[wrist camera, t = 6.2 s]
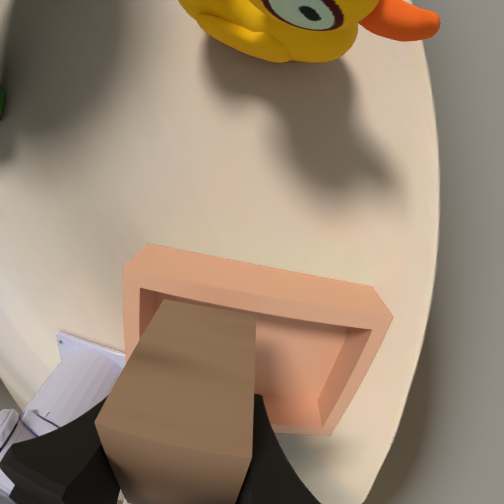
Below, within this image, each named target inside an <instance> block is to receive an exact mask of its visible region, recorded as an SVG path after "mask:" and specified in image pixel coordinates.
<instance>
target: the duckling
mask: <svg viewBox="0 0 504 504" xmlns="http://www.w3.org/2000/svg"><path fill="white" fill-rule="evenodd" d="M178 1H179V2H180V4H181V5H182V7H183V8H184V9H185V11H186V12H187V13H188V14H189V15H190V16H191V17H192V18H194V19H195V20H197V23H198V24H199V26H200V27H201V28H202V29H203V30H204V31H205V32H206V33H207V34H209V35H210V36H212V37H213V38H215V39H217V40H219V41H220V42H222V43H224V44H226V45H228V46H230V47H232V48H234V49H236V50H239V51H241V52H243V53H245V54H248V55H251V56H254V57H257V58H260V59H263V60H267V61H270V62H276V63H283V62H288V61H290V60H293V61H300V62H312V63H322V62H329V61H332V60H335V59H337V58H339V57H341V56H342V55H344V54H345V53H346V52H347V51H348V50H349V49H350V48H351V47H352V45H353V43H354V42H355V39H356V36H357V32H358V23H359V24H360V25H362V26H363V27H364V28H365V29H367V30H368V31H370V32H372V33H374V34H376V35H379V36H382V37H386V38H389V39H393V40H397V41H417V40H422V39H427V38H430V37H432V36H434V35H435V34H436V32H437V31H438V30H439V28H440V18H439V16H438V15H437V14H436V13H435V12H432V11H429V10H423V9H420V8H418V7H415V6H413V5H411V4H409V3H407V2H405V1H403V0H178Z"/></svg>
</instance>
